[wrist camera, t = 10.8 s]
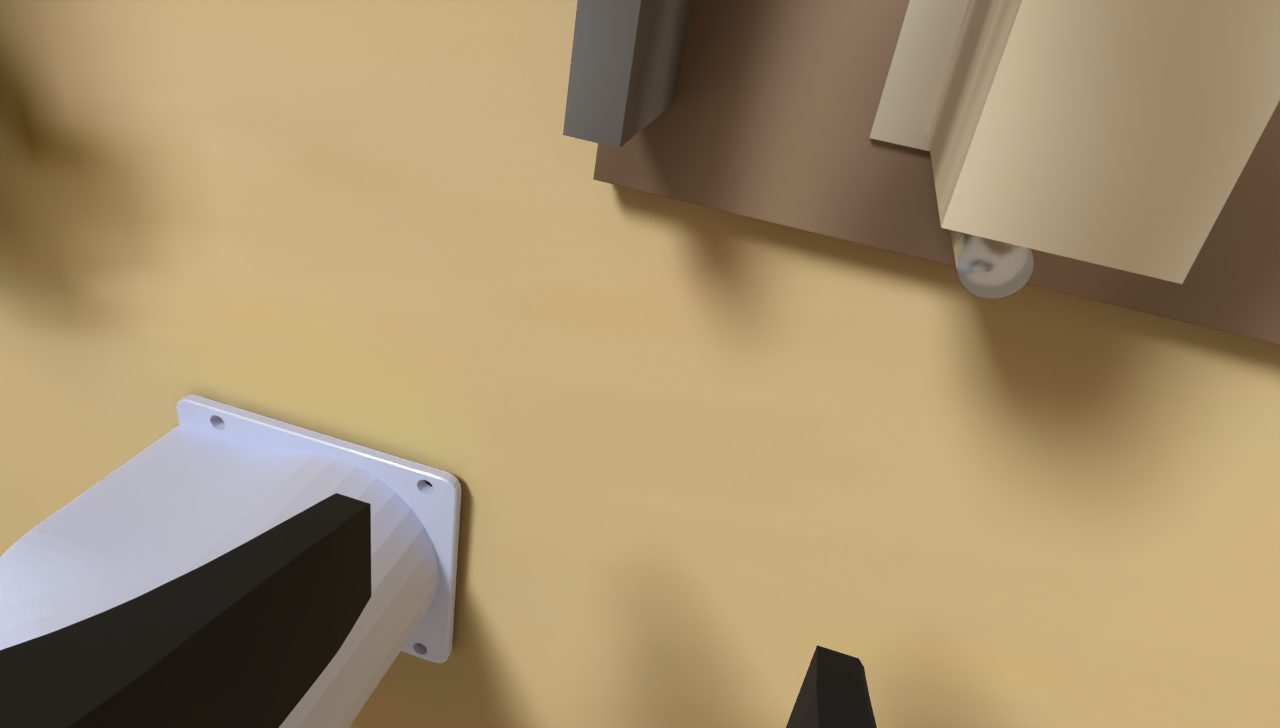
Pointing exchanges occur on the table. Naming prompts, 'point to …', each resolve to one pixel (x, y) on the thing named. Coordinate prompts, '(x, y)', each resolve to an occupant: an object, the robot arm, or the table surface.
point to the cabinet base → (855, 138)
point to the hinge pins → (991, 265)
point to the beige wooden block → (1102, 124)
